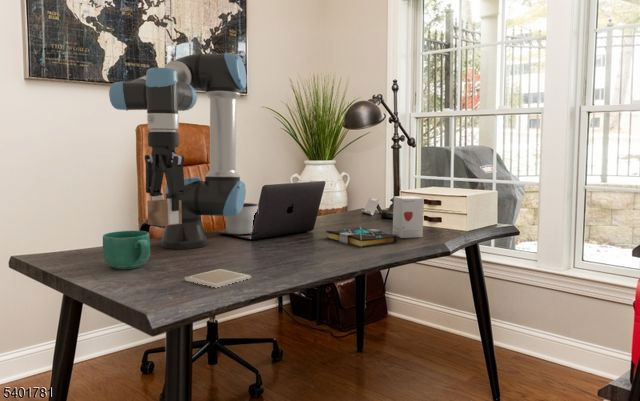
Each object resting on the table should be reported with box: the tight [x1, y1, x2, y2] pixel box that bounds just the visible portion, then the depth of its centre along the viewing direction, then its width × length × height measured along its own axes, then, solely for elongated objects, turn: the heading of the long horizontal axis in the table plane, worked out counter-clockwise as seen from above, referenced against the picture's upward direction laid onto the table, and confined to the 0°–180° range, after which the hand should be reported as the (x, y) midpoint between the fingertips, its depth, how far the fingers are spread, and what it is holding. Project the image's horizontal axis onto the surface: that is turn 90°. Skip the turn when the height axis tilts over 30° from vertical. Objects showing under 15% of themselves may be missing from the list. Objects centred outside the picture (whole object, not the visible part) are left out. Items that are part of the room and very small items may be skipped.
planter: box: [225, 202, 259, 235], centre depth 209 cm, size 12×12×11 cm
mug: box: [102, 230, 151, 270], centre depth 151 cm, size 17×13×10 cm
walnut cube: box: [146, 198, 182, 227], centre depth 136 cm, size 6×6×6 cm
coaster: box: [184, 268, 252, 289], centre depth 139 cm, size 12×12×1 cm
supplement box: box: [392, 195, 425, 239], centre depth 204 cm, size 9×9×15 cm
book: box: [325, 226, 399, 248], centre depth 195 cm, size 22×17×5 cm
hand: (165, 222), depth 137 cm, fingers closed on walnut cube, 6 cm apart
